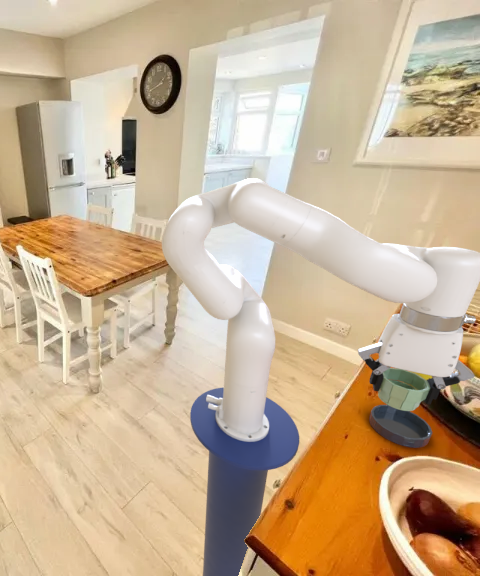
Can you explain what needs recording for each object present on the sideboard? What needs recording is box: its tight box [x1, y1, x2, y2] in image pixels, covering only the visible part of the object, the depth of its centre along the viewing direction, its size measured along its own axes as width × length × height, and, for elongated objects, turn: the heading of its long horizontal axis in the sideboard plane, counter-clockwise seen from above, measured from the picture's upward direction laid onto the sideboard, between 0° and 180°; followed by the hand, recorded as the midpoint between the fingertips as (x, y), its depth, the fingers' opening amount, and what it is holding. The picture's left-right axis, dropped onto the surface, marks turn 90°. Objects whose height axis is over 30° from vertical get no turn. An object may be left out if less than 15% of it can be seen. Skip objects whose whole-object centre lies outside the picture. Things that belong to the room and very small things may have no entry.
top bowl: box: [377, 367, 430, 412], centre depth 61 cm, size 7×7×6 cm
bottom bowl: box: [368, 404, 433, 449], centre depth 70 cm, size 10×10×2 cm
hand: (399, 392), depth 62 cm, fingers closed on top bowl, 6 cm apart
